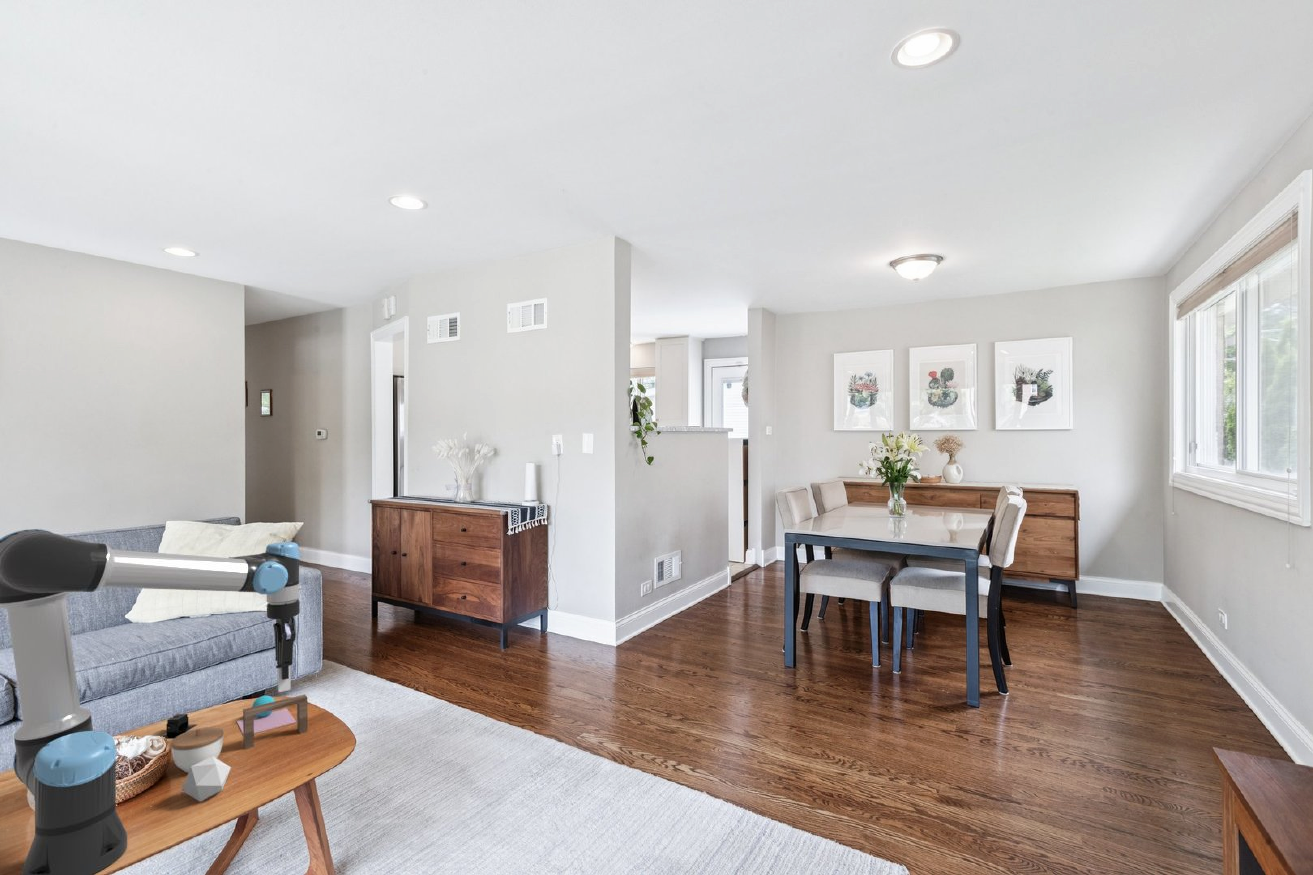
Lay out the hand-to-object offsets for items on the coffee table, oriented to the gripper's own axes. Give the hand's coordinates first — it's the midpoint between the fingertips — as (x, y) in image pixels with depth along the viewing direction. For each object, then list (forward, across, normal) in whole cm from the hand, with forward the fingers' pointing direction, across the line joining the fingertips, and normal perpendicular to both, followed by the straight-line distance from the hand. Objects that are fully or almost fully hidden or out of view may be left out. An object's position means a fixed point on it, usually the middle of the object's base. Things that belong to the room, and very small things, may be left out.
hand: (284, 690), depth 167 cm
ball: (+13, +30, 0) cm, 33 cm away
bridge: (+16, +11, 0) cm, 20 cm away
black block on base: (+17, +36, +20) cm, 45 cm away
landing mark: (+16, +25, 0) cm, 30 cm away
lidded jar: (+17, +7, +18) cm, 25 cm away
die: (+17, -11, +18) cm, 27 cm away
